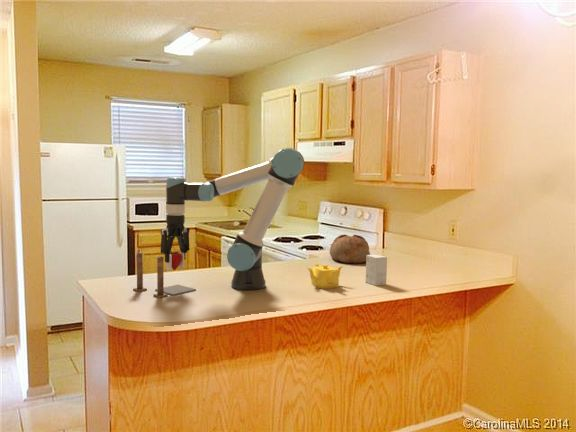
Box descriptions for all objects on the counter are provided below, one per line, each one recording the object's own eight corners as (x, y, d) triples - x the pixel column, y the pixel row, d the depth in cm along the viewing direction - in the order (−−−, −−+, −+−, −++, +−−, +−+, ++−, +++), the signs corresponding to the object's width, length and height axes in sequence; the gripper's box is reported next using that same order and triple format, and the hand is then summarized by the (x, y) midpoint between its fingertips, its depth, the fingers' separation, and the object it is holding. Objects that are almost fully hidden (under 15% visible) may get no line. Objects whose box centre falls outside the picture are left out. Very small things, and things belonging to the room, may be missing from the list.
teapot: (314, 280, 236) (315, 260, 235) (343, 283, 231) (344, 263, 230) (304, 287, 223) (305, 266, 222) (335, 291, 218) (336, 269, 217)
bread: (372, 265, 278) (373, 238, 277) (330, 264, 279) (331, 237, 278) (367, 256, 305) (367, 232, 303) (328, 255, 305) (329, 231, 304)
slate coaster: (195, 290, 213) (195, 289, 213) (173, 295, 204) (173, 294, 204) (177, 285, 220) (177, 284, 220) (155, 290, 211) (155, 289, 211)
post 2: (167, 296, 203) (167, 257, 201) (159, 298, 200) (159, 258, 198) (161, 294, 205) (161, 256, 204) (153, 296, 202) (153, 257, 201)
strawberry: (172, 272, 207) (172, 248, 206) (163, 269, 212) (164, 245, 212) (184, 271, 211) (185, 247, 210) (176, 268, 216) (176, 245, 215)
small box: (386, 284, 231) (387, 257, 230) (375, 286, 228) (376, 257, 227) (376, 281, 238) (377, 254, 237) (365, 282, 235) (366, 254, 234)
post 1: (146, 290, 211) (146, 253, 210) (138, 292, 208) (138, 254, 207) (141, 288, 214) (140, 251, 212) (133, 290, 211) (132, 253, 209)
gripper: (187, 212, 219) (187, 264, 221) (151, 214, 204) (151, 270, 206) (198, 213, 214) (198, 266, 216) (162, 216, 199) (162, 273, 201)
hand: (175, 268), depth 211 cm, fingers closed on strawberry, 6 cm apart
